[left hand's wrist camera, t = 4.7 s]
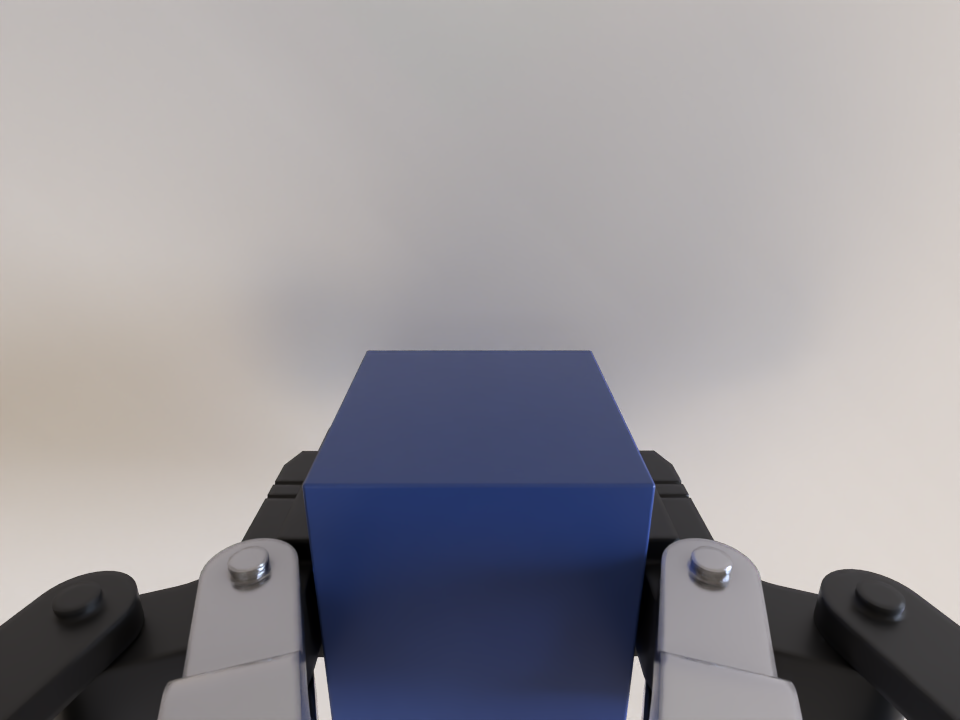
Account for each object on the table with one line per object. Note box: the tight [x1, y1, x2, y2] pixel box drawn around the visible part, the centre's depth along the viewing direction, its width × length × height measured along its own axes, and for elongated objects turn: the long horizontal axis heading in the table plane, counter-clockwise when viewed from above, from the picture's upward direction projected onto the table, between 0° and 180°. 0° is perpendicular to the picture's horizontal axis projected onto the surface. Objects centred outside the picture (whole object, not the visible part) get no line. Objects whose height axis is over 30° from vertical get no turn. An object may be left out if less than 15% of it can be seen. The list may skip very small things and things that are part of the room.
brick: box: [302, 351, 655, 720], centre depth 11 cm, size 4×5×5 cm
